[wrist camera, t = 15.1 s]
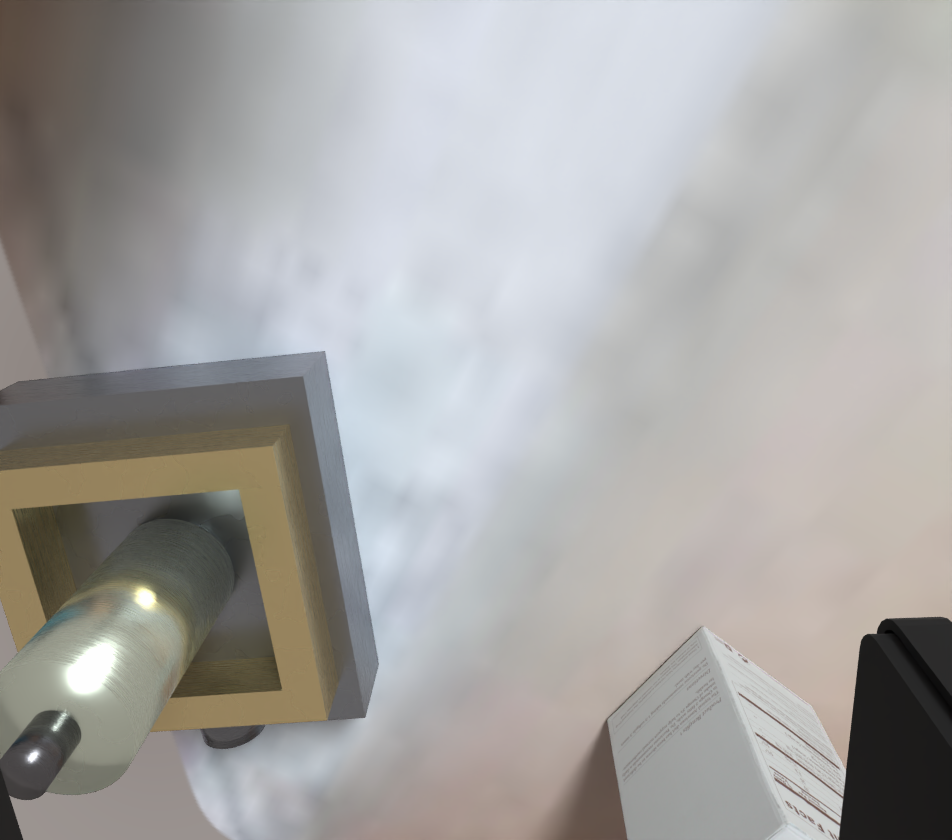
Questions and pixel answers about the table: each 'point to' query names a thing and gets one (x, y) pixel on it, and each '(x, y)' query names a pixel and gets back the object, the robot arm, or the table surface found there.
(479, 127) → the table surface
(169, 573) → the pale green bottle
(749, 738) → the supplement box
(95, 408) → the grey and gold box
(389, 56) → the table surface
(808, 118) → the table surface
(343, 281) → the table surface
